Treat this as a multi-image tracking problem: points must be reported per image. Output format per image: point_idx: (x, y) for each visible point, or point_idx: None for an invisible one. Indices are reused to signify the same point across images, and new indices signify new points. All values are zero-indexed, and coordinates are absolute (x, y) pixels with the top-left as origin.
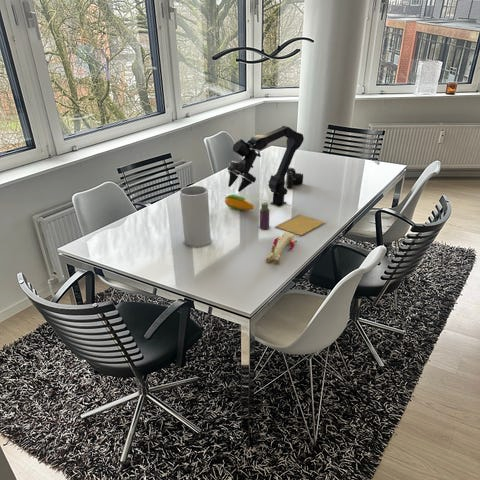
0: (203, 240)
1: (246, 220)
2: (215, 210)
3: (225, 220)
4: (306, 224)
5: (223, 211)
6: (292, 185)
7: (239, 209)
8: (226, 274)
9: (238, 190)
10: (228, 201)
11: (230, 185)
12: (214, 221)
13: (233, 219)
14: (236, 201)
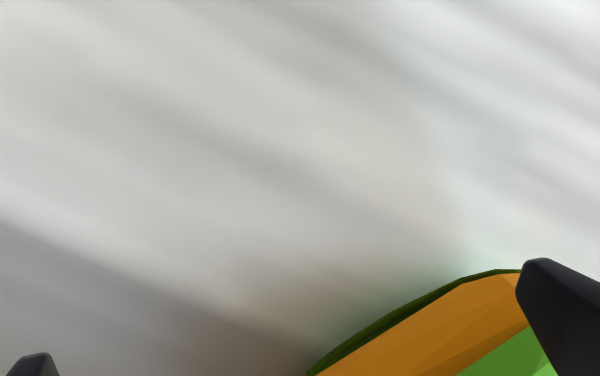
0: None
1: (51, 327)
2: (466, 139)
3: (176, 114)
4: None
5: (408, 200)
6: None
7: (323, 358)
8: None
9: (12, 368)
10: (490, 288)
11: (540, 320)
12: (210, 2)
13: (157, 204)
14: (406, 367)
